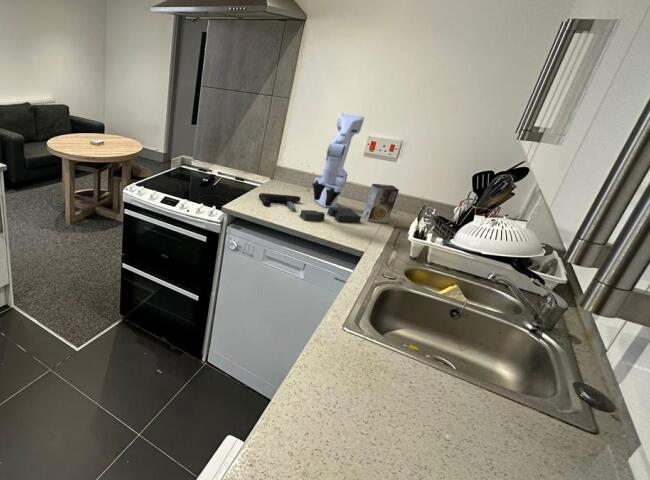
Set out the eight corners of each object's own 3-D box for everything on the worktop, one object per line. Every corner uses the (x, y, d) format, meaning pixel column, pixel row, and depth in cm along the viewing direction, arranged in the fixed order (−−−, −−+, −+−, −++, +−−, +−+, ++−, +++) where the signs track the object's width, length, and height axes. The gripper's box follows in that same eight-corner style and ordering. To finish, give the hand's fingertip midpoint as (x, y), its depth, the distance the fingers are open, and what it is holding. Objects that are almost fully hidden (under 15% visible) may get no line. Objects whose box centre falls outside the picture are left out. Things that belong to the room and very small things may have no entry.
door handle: (309, 208, 180) (298, 194, 194) (265, 204, 180) (258, 191, 194) (307, 214, 181) (296, 200, 195) (264, 210, 181) (256, 197, 196)
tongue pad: (299, 215, 176) (301, 209, 175) (319, 217, 177) (321, 210, 175) (304, 220, 171) (306, 214, 170) (324, 221, 172) (326, 215, 171)
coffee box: (381, 218, 182) (393, 185, 175) (387, 223, 176) (400, 189, 169) (361, 216, 182) (372, 183, 176) (367, 221, 176) (378, 187, 170)
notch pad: (327, 213, 182) (328, 207, 181) (347, 214, 183) (349, 208, 182) (337, 221, 173) (339, 215, 172) (359, 223, 174) (361, 216, 172)
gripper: (311, 167, 169) (304, 197, 174) (333, 177, 156) (324, 208, 161) (325, 167, 170) (317, 197, 176) (348, 177, 158) (339, 208, 163)
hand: (322, 202), depth 169 cm, fingers open, 7 cm apart
